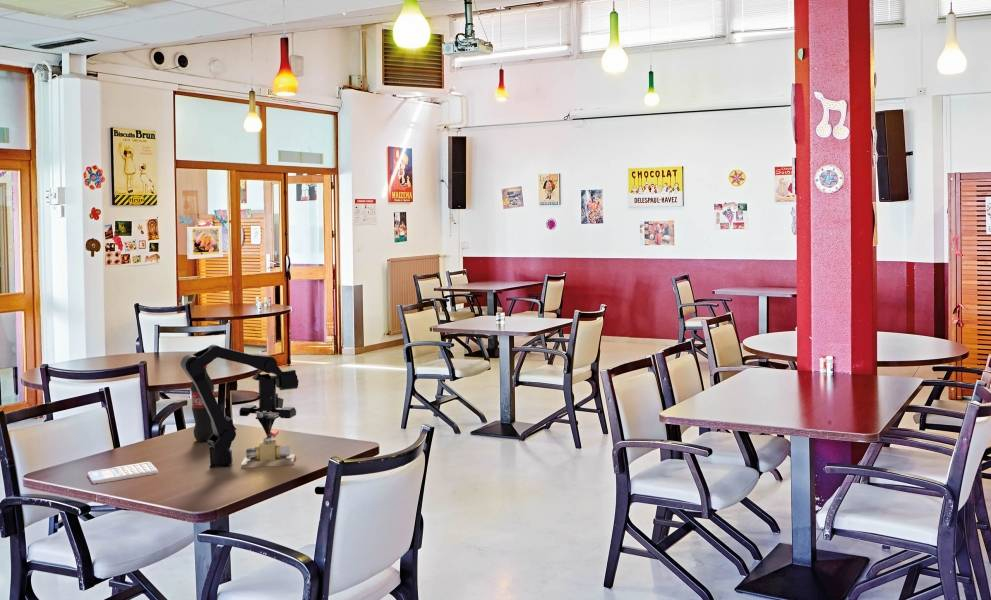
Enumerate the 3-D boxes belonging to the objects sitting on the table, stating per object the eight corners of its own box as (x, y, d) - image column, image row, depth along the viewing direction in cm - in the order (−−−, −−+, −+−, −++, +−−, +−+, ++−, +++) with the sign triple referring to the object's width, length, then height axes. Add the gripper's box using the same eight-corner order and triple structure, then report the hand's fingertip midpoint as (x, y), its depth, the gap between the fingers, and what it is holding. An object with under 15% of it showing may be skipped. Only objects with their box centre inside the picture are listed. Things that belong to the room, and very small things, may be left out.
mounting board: (241, 468, 304) (240, 464, 304) (245, 460, 313) (244, 457, 313) (293, 464, 306) (293, 461, 306) (295, 457, 315) (295, 454, 315)
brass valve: (246, 462, 306) (245, 445, 305) (248, 458, 311) (247, 441, 310) (289, 459, 308) (288, 442, 307) (290, 455, 313) (289, 439, 312)
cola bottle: (199, 444, 339) (193, 364, 336) (190, 440, 345) (185, 361, 342) (221, 439, 344) (216, 361, 341) (212, 436, 351) (207, 358, 348)
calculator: (158, 474, 301) (158, 469, 301) (93, 485, 291) (92, 479, 291) (150, 465, 313) (150, 460, 313) (87, 476, 303) (86, 470, 302)
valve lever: (270, 442, 307) (270, 438, 307) (262, 442, 307) (262, 439, 307) (279, 433, 320) (279, 430, 320) (271, 433, 320) (271, 430, 320)
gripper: (302, 388, 322) (302, 431, 323) (252, 385, 325) (253, 429, 327) (289, 394, 311) (289, 439, 313) (238, 392, 314) (239, 436, 316)
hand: (268, 435), depth 317 cm, fingers closed
